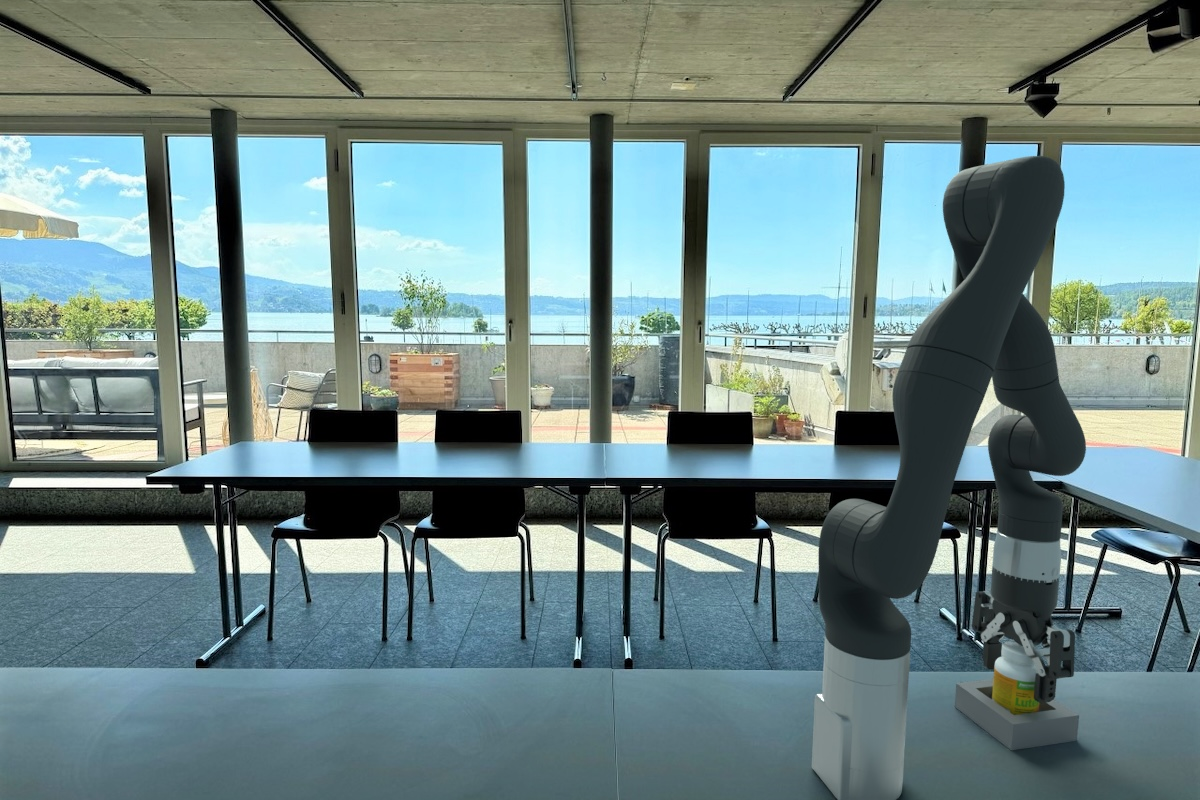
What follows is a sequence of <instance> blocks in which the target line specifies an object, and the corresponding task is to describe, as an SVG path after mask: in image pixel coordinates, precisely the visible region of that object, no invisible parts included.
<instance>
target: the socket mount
mask: <svg viewBox="0 0 1200 800" xmlns="http://www.w3.org/2000/svg"><path fill="white" fill-rule="evenodd" d="M993 679H994V678H989V679H988V678H987V679H981V680H972V681H964V682H962V681H961V682H956V683H955V693H954V694H955V697H954V707H955V709H957V710H958V711H960V713H962V714H963V715H965V716H966V717H967V718H968V719H970V720H971V721H972V722H974V723H975V725H978V727H980V728H981V729H983V730H984V731H986V732H987V734H988V735H989V734H990V735H991V736H992V737H993V738H994V739H996V740H997V741H998V742H999V743H1001V744H1003V746H1005V747H1006V748H1007V749H1009V750H1010V751H1016V750H1022V749H1029V748H1037V747H1044V746H1048V745H1051V746H1052V745H1057V744H1063V743H1069V742H1070V743H1071V742H1077V741H1078V734H1079V730H1078V729H1079V721H1080V715H1079V714H1078V713H1076V712H1075V711H1074V710H1072V709H1070V708H1069V707H1067V706H1066V705H1064V704H1062V703H1060V702H1059V701H1057V700H1056V699H1054V700H1052V701H1051V702H1046V703H1039V712H1034V713H1027V714H1020V715H1013V714H1011V713H1010V712H1009V711H1007V710H1006V709H1004V708H1003V707H1001V706H1000V705H999V704H997V703H996V702H994V701H993V700H992V693H993Z"/></svg>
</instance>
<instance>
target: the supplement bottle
mask: <svg viewBox="0 0 1200 800" xmlns="http://www.w3.org/2000/svg"><path fill="white" fill-rule="evenodd" d="M1036 673H1038V672H1037V670H1036V667H1035V665H1034V663H1033V660H1032V659H1031V658H1030V657H1028V656H1027V654H1026V652H1025V649H1024V647H1022V646H1021V645H1019V644H1018V643H1016V642H1015V641H1014V640H1012V641H1009V640H1008V641H1004V642H1002V650H1001V657H999V658H998V659H997V660H996V661H995V666H994V669H993V678H992V679H993V693H992V700H993V701H994V702H996V703H997V704H999V705H1000V706H1001V707H1003V708H1004V709H1006V710H1007V711H1009V712H1010V713H1011V714H1013V715H1020V714H1027V713H1034V712H1039V702H1037V701H1036V700H1034V688H1035V675H1036Z"/></svg>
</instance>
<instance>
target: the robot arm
mask: <svg viewBox="0 0 1200 800" xmlns="http://www.w3.org/2000/svg"><path fill="white" fill-rule="evenodd" d="M1065 190H1066V189H1065V176H1064V173H1063V170H1062V168H1061V166H1060V164H1059V163H1058V162H1057V161H1056V160H1054V159H1053V158H1051V157H1048V156H1044V155H1031V156H1029V155H1028V156H1023V157H1016V158H1013V159H1007V160H1004V161H1003V160H1002V161H999V162H992V163H987V164H983V165H978V166H973V167H970V168H965V169H963V170H961V171H959V172H957V174H955V175H954V176H953V177H952V178H951V179H950V181H949V183H947V186H946V188H945V191H944V194H943V199H942V214H943V215H942V216H943V221H944V225H945V229H946V233H947V235H948V239H949V242H950V243H949V244H950V246H951V248H952V250H953V253H954V256H955V259H956V261H957V264H958V267H959V269H960V273H961V275H962V278H963V281H962V282H961V283H960V284H959V285H958V286H957V287H956V288H955V289H954V290H953V291H952V292H951V293H950V294H948V296H947V297H946V298H945V299H944V300H943V301H941V303H939V304H938V305H937V306H936V307H935V308H934V309H933V310H932V311H931V312H930V314H929V315H928V316H927V317H926V318H925V319H924V320H923V321H922V322H921V323H920V325H918V327H917V328H916V329H915V331H914V333H912V336H911V338H910V339H909V341H908V344H907V347H906V350H905V352H904V355H903V357H902V360H901V363H900V366H899V368H898V371H897V374H896V377H895V379H894V383H893V387H892V407H893V414H894V420H895V421H894V422H895V425H896V426H895V427H896V431H897V436H898V443H899V451H900V452H899V457H900V459H899V466H898V467H899V468H898V473H897V476H896V480H895V483H894V487H893V490H892V493H891V496H890V499H889V500H888V504H887V505H886V506H884V505H881V504H878V503H877V502H876V503H875V502H872V501H869V500H867V499H866V500H865V499H861V498H848V499H845V500H842V501H840V502H837V504H836V505H834V506H833V507H832V508H831V510H829V512H828V514H827V515H826V517H825V519H824V521H823V524H822V525H821V526H822V527H821V530H820V535H819V541H818V542H819V543H818V556H817V557H818V558H817V559H818V561H817V562H818V605H819V609H820V613H821V616H822V618H823V621H824V647H823V648H824V649H823V669H822V687H821V688H822V690H821V691H822V692H821V693H816V694H815V696H814V708H813V711H814V712H813V729H812V731H813V733H812V752H811V753H812V754H811V757H812V758H811V768H812V769H813V771H814V772H815V773H816V775H817V776H818V777H819V779H820V780H821V781H822V782H823V784H824V785H825V786H826V787H827V788H828V790H829V791H830V792H831V794H833V796H834V797H835V798H836V799H837V800H898V799H899V797H900V796H901V794H902V791H903V781H904V763H905V747H906V746H905V743H906V731H907V730H906V729H907V726H906V725H907V715H908V714H907V713H908V711H907V709H908V693H909V679H910V678H909V677H910V663H911V662H910V659H911V645H912V628H911V625H910V622H909V621H908V619H907V618H906V616H905V615H904V614H903V613H902V611H900V610H899V608H898V607H897V606H896V605H895V603H894V602H893V601H892V599H894V600H897V599H904V598H906V597H908V596H911V595H912V594H913V593H915V592H916V591H917V590H918V589H919V588H920V587H921V585H922V584H923V583H924V582H925V579H926V578H927V576H928V574H929V572H930V569H932V566H933V563H934V560H935V558H936V553H937V550H938V547H939V544H940V543H939V542H940V539H941V536H942V531H943V527H944V522H945V518H946V515H947V511H948V507H949V502H950V498H951V495H952V490H953V487H954V483H955V479H956V477H957V473H958V470H959V467H960V464H961V461H962V457H963V456H964V452H965V449H966V446H967V444H968V440H969V437H970V435H971V431H972V429H973V427H974V426H973V425H974V423H975V420H976V418H977V416H978V413H979V410H980V409H981V405H982V404H983V402H984V398H985V396H986V393H987V391H988V389H989V386H990V382H991V380H992V385H993V391H994V394H995V398H996V400H997V401H998V402H999V403H1000V404H1001V405H1003V406H1004V407H1007V408H1010V409H1012V410H1015V411H1017V412H1018V413H1019V412H1020V413H1021V414H1022V415H1021V414H1007V415H1004V416H1001V418H999V419H998V420H996V422H995V423H994V424H993V425H992V427H991V430H990V432H989V434H988V439H987V448H988V449H987V452H988V457H989V461H990V464H991V465H990V466H991V469H992V473H993V477H994V483H995V487H996V492H997V496H998V502H999V503H998V518H997V528H996V535H995V540H994V543H993V550H992V551H993V553H992V564H991V565H992V566H991V580H990V590H983V591H976V592H975V596H974V597H975V598H974V605H973V613H972V621H971V628H972V631H973V632H976V633H977V632H978V634H980V637H981V641H982V656H981V657H982V663H983V667H984V668H985V669H987V670H994V666H995V661H996V660H997V659H998V658H999V657H1001V656H1002V654H1001V650H1002V644H1003V642H1001V641H1002V640H1003V639H1004V638H1007V639H1009V640H1012V641H1014V642H1016V643H1018V644H1019V645H1021V646H1022V647H1024V649H1025V652H1026V654H1027V656H1028V657H1030V658H1031V659H1032V660H1033V663H1034V665H1035V667H1036V670H1037V672H1038V673H1036V675H1035V688H1034V700H1036V701H1037V702H1039V703H1046V702H1051V701H1052V700H1055V698H1056V690H1057V680H1059V679H1064V678H1072V677H1074V675H1075V653H1076V652H1075V649H1076V647H1075V646H1076V635H1075V632H1074V631H1073V630H1072V629H1061V628H1059V627H1057V626H1055V625H1054V623H1053V619H1052V614H1053V612H1054V611H1055V609H1056V608H1057V606H1058V600H1059V588H1060V587H1059V585H1060V575H1061V566H1062V565H1061V563H1062V550H1061V536H1062V535H1061V534H1062V524H1063V507H1064V505H1063V500H1062V498H1061V497H1060V496H1059V495H1058V494H1056V493H1055V492H1052V491H1050V490H1048V489H1046V488H1045V487H1042V486H1040V485H1038V483H1036V482H1035V480H1034V479H1033V477H1032V475H1031V473H1030V472H1032V473H1038V474H1043V475H1047V476H1048V475H1049V476H1054V477H1064V476H1069V475H1070V474H1073V473H1074V472H1076V471H1077V470H1078V469H1079V468H1080V466H1081V465H1082V464H1083V462H1084V460H1085V457H1086V453H1087V442H1086V438H1085V433H1084V431H1083V428H1082V425H1081V423H1080V421H1079V419H1078V418H1077V416H1076V414H1075V412H1074V410H1073V408H1072V405H1071V404H1070V401H1069V400H1068V397H1067V396H1066V394H1065V391H1064V389H1063V388H1062V386H1061V383H1060V378H1059V377H1060V376H1059V370H1058V363H1057V355H1056V350H1055V349H1056V348H1055V344H1054V339H1053V337H1052V333H1051V332H1050V330H1049V327H1048V326H1047V323H1046V322H1045V320H1044V319H1043V317H1042V316H1041V315H1040V313H1039V311H1038V310H1037V309H1036V308H1035V307H1034V305H1033V304H1032V303H1031V301H1030V300H1028V298H1027V297H1026V296H1025V295H1024V292H1025V290H1026V288H1027V285H1028V283H1029V281H1030V280H1031V279H1030V278H1031V277H1032V275H1033V273H1034V272H1035V269H1036V267H1037V265H1038V263H1039V261H1040V259H1041V256H1042V255H1043V253H1044V251H1045V249H1046V247H1047V245H1048V243H1049V242H1050V239H1051V236H1052V234H1053V232H1054V230H1055V228H1056V226H1057V223H1058V220H1059V217H1060V214H1061V213H1062V208H1063V204H1064V198H1065ZM1040 644H1042V648H1036V647H1035V646H1038V645H1040ZM1043 658H1044V659H1045V662H1046V664H1045V662H1044V659H1043Z"/></svg>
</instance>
